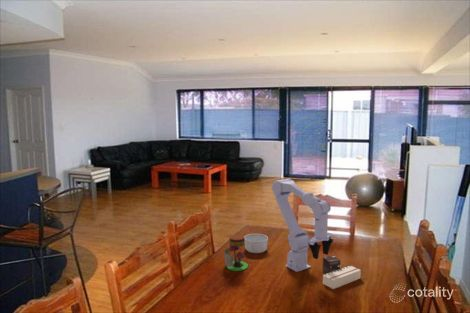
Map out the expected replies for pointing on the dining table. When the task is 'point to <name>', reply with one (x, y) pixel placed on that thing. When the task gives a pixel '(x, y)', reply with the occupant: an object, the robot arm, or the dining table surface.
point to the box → (330, 264)
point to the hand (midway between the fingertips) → (320, 256)
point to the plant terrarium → (234, 245)
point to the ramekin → (256, 243)
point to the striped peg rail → (341, 277)
